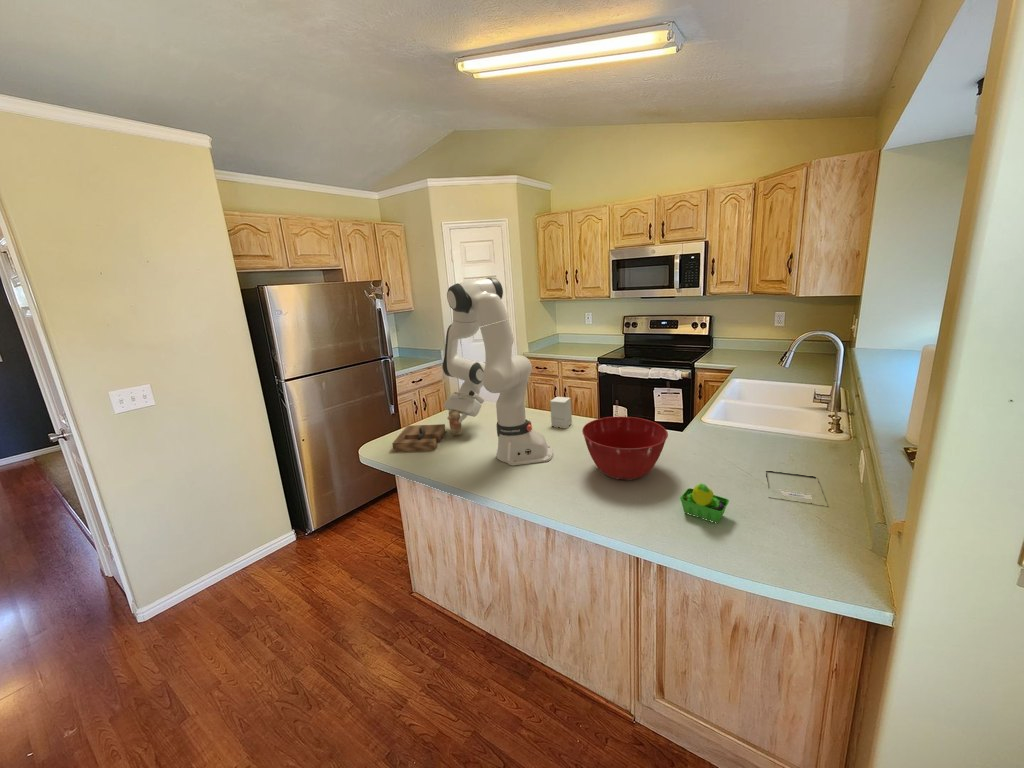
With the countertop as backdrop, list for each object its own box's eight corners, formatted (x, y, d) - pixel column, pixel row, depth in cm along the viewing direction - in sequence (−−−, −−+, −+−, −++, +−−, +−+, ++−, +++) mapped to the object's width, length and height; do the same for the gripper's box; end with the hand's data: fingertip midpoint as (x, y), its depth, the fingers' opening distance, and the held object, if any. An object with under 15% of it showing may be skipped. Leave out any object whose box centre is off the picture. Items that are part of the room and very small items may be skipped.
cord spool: (463, 430, 193) (460, 409, 190) (461, 434, 188) (458, 413, 185) (452, 431, 193) (449, 410, 190) (449, 435, 188) (446, 414, 186)
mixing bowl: (663, 455, 158) (664, 416, 153) (670, 495, 131) (671, 449, 127) (587, 451, 165) (586, 414, 161) (579, 488, 139) (577, 445, 135)
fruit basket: (728, 515, 119) (731, 479, 116) (719, 530, 113) (721, 493, 110) (687, 502, 127) (689, 468, 124) (676, 516, 121) (677, 481, 118)
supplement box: (572, 423, 195) (571, 397, 192) (565, 429, 189) (564, 402, 186) (558, 421, 199) (556, 396, 196) (551, 426, 193) (549, 400, 190)
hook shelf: (445, 432, 196) (443, 416, 194) (435, 450, 177) (432, 432, 175) (408, 433, 198) (405, 417, 196) (393, 452, 179) (390, 434, 177)
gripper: (448, 388, 197) (435, 414, 193) (478, 394, 184) (464, 422, 180) (457, 394, 202) (443, 420, 197) (487, 400, 188) (473, 428, 184)
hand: (453, 421), depth 188 cm, fingers closed on cord spool, 5 cm apart
